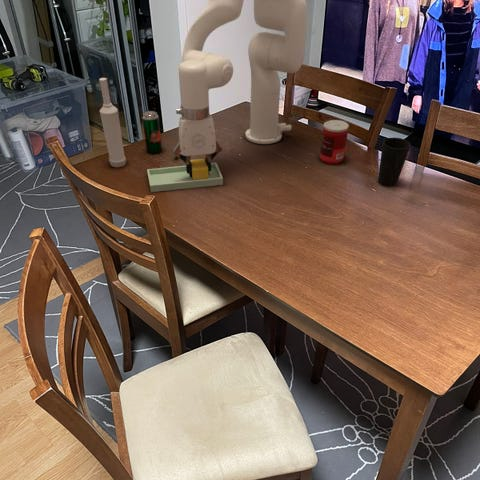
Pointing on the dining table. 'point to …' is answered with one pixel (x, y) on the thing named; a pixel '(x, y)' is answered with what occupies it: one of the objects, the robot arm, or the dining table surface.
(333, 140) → the canned food
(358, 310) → the dining table surface
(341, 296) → the dining table surface
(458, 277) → the dining table surface
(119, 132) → the bottle
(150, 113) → the soda can
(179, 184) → the tray
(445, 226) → the dining table surface
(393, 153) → the cup
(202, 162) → the sponge
